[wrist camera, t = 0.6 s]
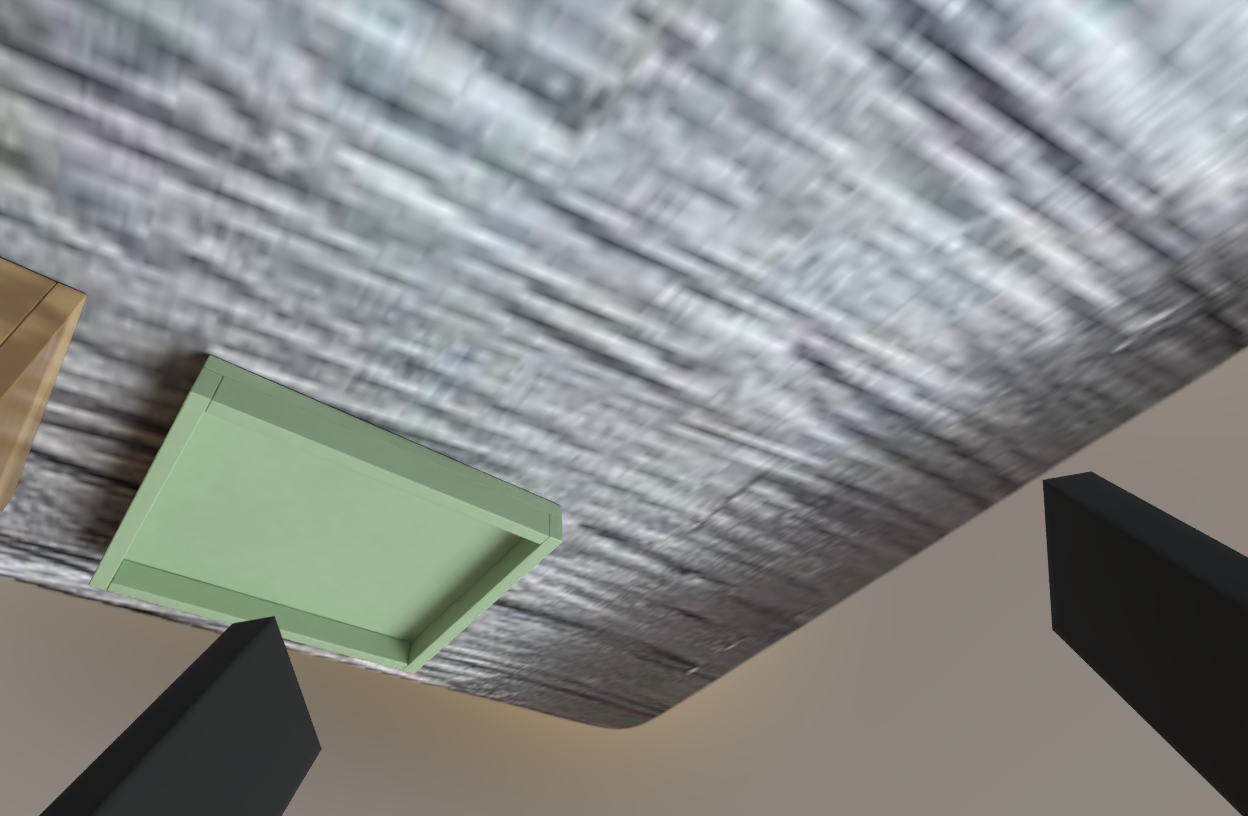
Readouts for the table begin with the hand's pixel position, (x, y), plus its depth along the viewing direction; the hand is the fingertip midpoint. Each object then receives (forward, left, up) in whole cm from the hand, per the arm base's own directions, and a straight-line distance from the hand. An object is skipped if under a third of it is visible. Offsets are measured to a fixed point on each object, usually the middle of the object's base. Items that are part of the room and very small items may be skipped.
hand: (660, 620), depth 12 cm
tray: (+13, -20, -18) cm, 30 cm away
